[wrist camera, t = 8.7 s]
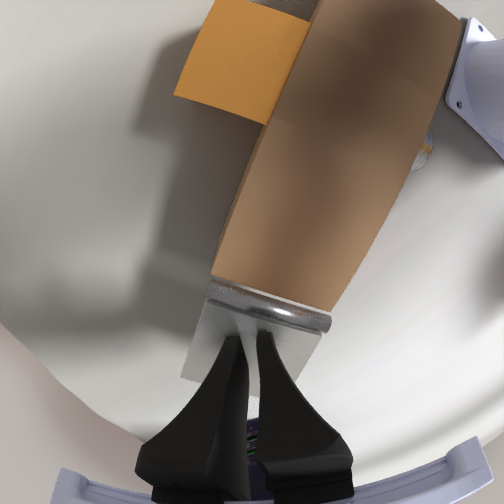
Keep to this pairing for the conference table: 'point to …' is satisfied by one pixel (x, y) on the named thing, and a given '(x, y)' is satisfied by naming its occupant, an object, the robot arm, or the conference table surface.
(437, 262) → the conference table surface
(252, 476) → the storage jar
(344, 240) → the block
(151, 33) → the conference table surface
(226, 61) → the orange block
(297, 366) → the plate
